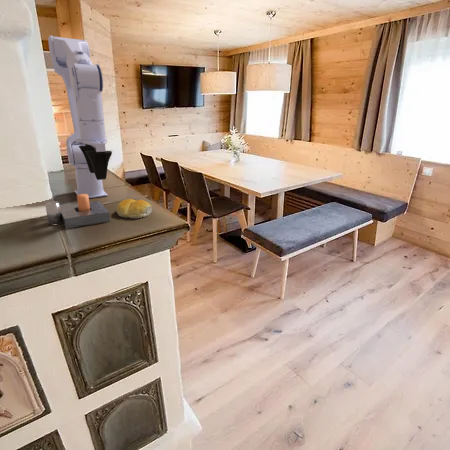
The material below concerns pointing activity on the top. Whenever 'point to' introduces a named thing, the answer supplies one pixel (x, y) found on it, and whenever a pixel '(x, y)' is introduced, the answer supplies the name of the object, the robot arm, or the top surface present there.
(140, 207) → the bread roll
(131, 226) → the top surface
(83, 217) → the slotted grey box
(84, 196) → the sausage
